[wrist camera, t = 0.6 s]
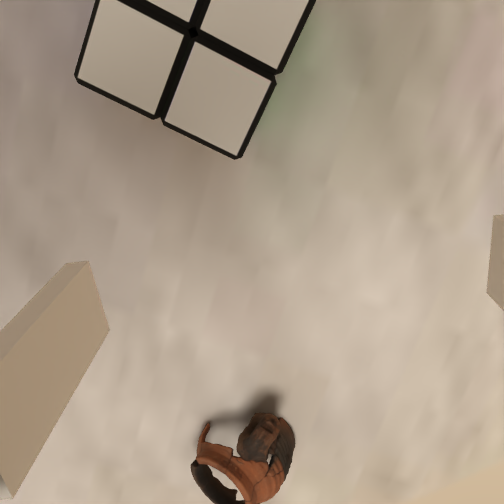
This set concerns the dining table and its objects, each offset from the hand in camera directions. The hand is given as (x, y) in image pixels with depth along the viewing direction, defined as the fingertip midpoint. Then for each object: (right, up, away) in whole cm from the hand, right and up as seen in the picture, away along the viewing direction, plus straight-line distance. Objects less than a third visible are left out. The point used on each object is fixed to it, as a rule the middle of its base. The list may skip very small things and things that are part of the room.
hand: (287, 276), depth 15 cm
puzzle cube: (-4, +16, +17) cm, 24 cm away
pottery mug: (-1, -18, +32) cm, 37 cm away
